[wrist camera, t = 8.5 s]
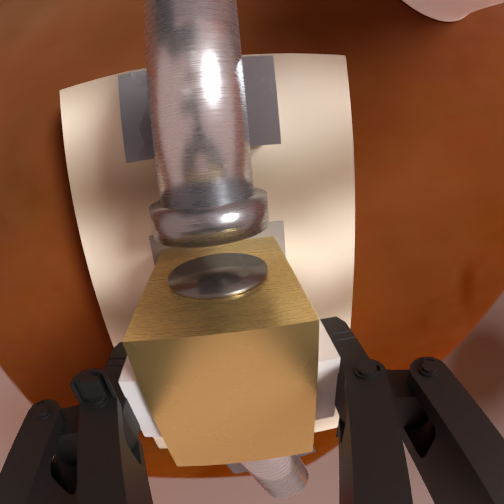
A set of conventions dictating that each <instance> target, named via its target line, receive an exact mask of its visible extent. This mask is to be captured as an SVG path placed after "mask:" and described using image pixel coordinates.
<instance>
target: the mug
mask: <svg viewBox="0 0 504 504" xmlns="http://www.w3.org/2000/svg"><path fill="white" fill-rule="evenodd" d="M402 1H403V2H405V3H406V4H407V5H409V6H410V7H412V8H413V9H415V10H416V11H418V12H420V13H422V14H424V15H426V16H428V17H430V18H433V19H436V20H440V21H445V22H453V21H458V20H461V19H463V18H464V17H466V16H467V15H468V14H469V13H471V12H474V11H477V10H480V9H483V8H486V7H489V6H493V5H496V4H500V3H503V2H504V0H402Z"/></svg>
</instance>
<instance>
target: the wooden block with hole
mask: <svg viewBox="0 0 504 504" xmlns="http://www.w3.org/2000/svg"><path fill="white" fill-rule="evenodd" d="M123 345H124V348H125V350H126V353H127V356H128V359H129V361H130V364H131V366H132V369H133V372H134V374H135V377H136V379H137V382H138V384H139V386H140V389H141V391H142V394H143V396H144V398H145V401H146V403H147V405H148V407H149V410H150V412H151V414H152V416H153V419H154V421H155V423H156V425H157V427H158V429H159V431H160V433H161V436H162V438H163V440H164V442H165V444H166V446H167V448H168V450H169V452H170V453H171V455H172V457H173V459H174V461H175V463H176V465H177V466H203V465H219V464H231V463H242V462H251V461H259V460H266V459H273V458H279V457H286V456H291V455H297V454H302V453H307V452H312V451H313V440H314V428H315V414H316V398H317V379H318V355H319V318H318V316H317V314H316V313H315V311H314V309H313V307H312V305H311V303H310V301H309V299H308V298H307V296H306V294H305V292H304V290H303V288H302V287H301V285H300V283H299V281H298V279H297V277H296V275H295V274H294V272H293V270H292V268H291V266H290V264H289V263H288V261H287V259H286V257H285V255H284V254H283V252H282V250H281V248H280V246H279V245H278V243H277V241H276V239H275V237H274V236H270V237H261V238H253V239H244V240H240V241H237V242H233V243H228V244H223V245H217V246H210V247H198V248H170V249H163V250H162V252H161V254H160V256H159V258H158V260H157V262H156V265H155V267H154V269H153V271H152V273H151V276H150V278H149V280H148V282H147V285H146V287H145V289H144V291H143V294H142V296H141V298H140V301H139V303H138V305H137V308H136V310H135V312H134V315H133V317H132V320H131V322H130V325H129V327H128V329H127V332H126V334H125V337H124V339H123Z"/></svg>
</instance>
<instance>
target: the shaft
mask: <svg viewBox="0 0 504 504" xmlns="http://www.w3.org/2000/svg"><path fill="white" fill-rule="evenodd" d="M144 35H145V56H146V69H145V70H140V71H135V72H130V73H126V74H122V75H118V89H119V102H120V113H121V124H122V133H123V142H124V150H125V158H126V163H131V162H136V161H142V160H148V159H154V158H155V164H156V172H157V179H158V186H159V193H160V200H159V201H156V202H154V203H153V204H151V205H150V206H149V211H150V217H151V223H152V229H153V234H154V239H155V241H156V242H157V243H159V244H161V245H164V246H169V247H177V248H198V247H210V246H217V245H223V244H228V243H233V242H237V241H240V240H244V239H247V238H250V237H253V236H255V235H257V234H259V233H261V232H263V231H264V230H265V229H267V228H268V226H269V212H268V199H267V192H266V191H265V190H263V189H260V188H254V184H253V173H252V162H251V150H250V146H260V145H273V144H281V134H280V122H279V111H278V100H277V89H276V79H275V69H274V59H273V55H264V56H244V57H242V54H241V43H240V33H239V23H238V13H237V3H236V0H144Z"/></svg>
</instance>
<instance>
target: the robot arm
mask: <svg viewBox="0 0 504 504" xmlns="http://www.w3.org/2000/svg"><path fill="white" fill-rule="evenodd" d="M293 272H294V271H293ZM294 274H295V273H294ZM297 279H298V278H297ZM298 281H299V280H298ZM299 283H300V282H299ZM300 285H301V284H300ZM301 287H302V286H301ZM302 288H303V287H302ZM303 290H304V289H303ZM304 292H305V291H304ZM305 294H306V293H305ZM306 296H307V295H306ZM307 298H308V297H307ZM308 299H309V298H308ZM309 301H310V300H309ZM310 303H311V302H310ZM311 305H312V304H311ZM312 307H313V306H312ZM313 309H314V308H313ZM314 311H315V309H314ZM315 313H316V311H315ZM316 314H317V313H316ZM317 316H318V315H317ZM318 318H319V317H318ZM70 386H71V388H72V390H73V392H74V394H75V396H76V397H77V399H78V401H79V403H80V405H77V406H72V407H67V408H62V409H61V408H60V406H59V404H58V403H57V402H55V401H54V400H50V399H47V400H42V401H39V402H37V403H36V404H34V405H33V406H32V407H31V409H30V410H29V411H28V413H27V415H26V417H25V419H24V421H23V423H22V426H21V428H20V430H19V432H18V434H17V436H16V438H15V440H14V443H13V445H12V447H11V450H10V452H9V454H8V456H7V459H6V461H5V464H4V466H3V468H2V471H1V473H0V504H153V501H152V497H151V492H150V487H149V482H148V477H147V471H146V466H145V460H144V454H143V448H142V444H141V442H140V440H139V438H138V435H139V429H141V431H142V433H143V434H144V436H145V437H162V436H161V433H160V431H159V429H158V427H157V425H156V423H155V421H154V419H153V416H152V414H151V412H150V410H149V407H148V405H147V403H146V401H145V398H144V396H143V394H142V391H141V389H140V386H139V384H138V382H137V379H136V377H135V374H134V372H133V369H132V366H131V364H130V361H129V359H128V356H127V353H126V350H125V348H124V345H123V342H119V343H118V344H117V345H116V346H115V347H114V348H113V349H112V351H111V354H110V356H109V360H108V361H107V363H106V367H105V368H104V370H100V369H88V370H85V371H82V372H80V373H79V374H77V375H76V376H75V377H74V378H73V379H72V381H71V383H70ZM335 407H336V409H337V411H338V414H339V422H338V428H337V434H336V437H339V478H340V479H339V486H340V489H339V492H340V494H339V495H340V496H339V497H340V498H339V503H340V504H413V501H412V494H411V487H410V481H409V474H408V468H407V463H406V457H405V452H404V446H403V442H404V444H405V446H406V448H407V450H408V452H409V453H410V455H411V457H412V459H413V461H414V463H415V465H416V467H417V469H418V471H419V473H420V475H421V477H422V479H423V481H424V483H425V485H426V487H427V489H428V491H429V493H430V495H431V497H432V499H433V501H434V503H435V504H504V439H503V437H502V436H501V434H500V433H499V432H498V430H497V429H496V428H495V426H494V425H493V424H492V423H491V421H490V420H489V418H488V417H487V416H486V414H485V413H484V412H483V411H482V409H481V408H480V407H479V406H478V404H477V403H476V402H475V400H474V399H473V398H472V397H471V395H470V394H469V393H468V392H467V390H466V389H465V388H464V387H463V385H462V384H461V383H460V382H459V381H458V379H457V378H456V377H455V376H454V374H453V373H452V372H451V371H450V370H449V368H448V367H447V366H446V365H445V364H444V363H443V362H442V361H440V360H438V359H436V358H433V357H421V358H418V359H416V360H414V361H413V362H412V364H411V365H410V369H409V370H387V369H385V367H384V366H383V365H382V364H381V363H380V362H378V361H375V360H373V359H369V357H368V356H367V354H366V353H365V351H364V350H363V348H362V346H361V345H360V343H359V342H358V340H357V339H356V338H355V336H354V334H353V333H352V331H351V329H350V328H349V326H348V325H347V323H346V322H345V321H343V320H341V319H340V318H338V317H337V316H336V317H330V318H324V319H319V355H318V379H317V398H316V414H315V420H319V419H324V418H328V417H333V416H334V413H335ZM402 440H403V441H402ZM53 456H54V458H53ZM52 459H53V460H52Z"/></svg>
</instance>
